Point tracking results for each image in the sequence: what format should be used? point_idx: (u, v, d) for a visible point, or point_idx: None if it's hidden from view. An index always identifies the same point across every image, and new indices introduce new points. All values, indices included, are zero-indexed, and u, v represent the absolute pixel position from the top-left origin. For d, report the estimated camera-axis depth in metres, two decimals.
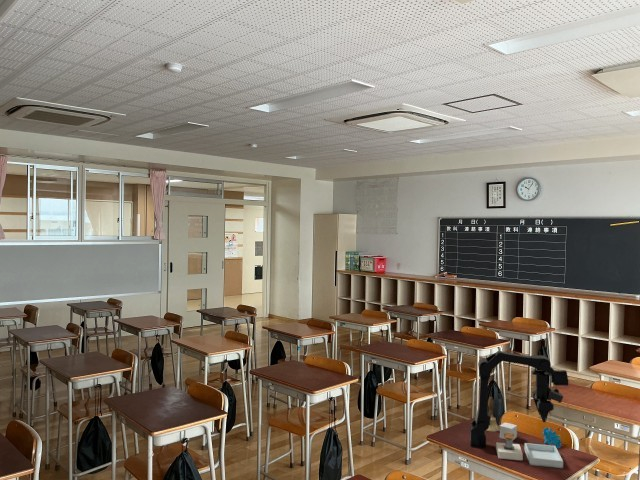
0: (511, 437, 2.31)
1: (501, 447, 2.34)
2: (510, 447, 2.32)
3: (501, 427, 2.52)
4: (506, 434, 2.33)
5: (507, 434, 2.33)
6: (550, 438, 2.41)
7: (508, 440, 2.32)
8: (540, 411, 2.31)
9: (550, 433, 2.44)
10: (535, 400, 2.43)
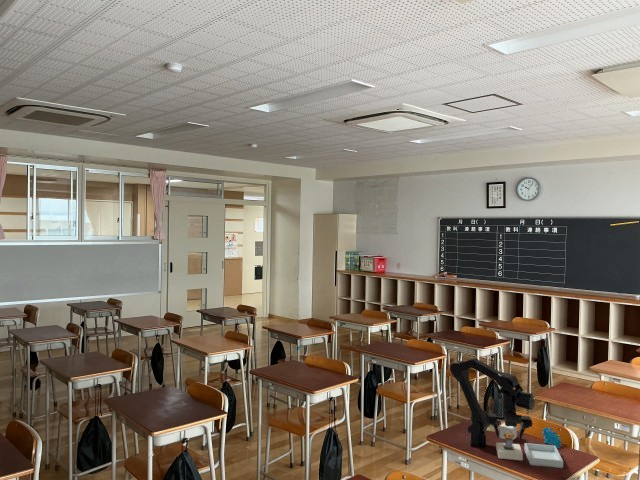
0: (511, 437, 2.31)
1: (501, 447, 2.34)
2: (510, 447, 2.32)
3: (501, 427, 2.52)
4: (506, 434, 2.33)
5: (507, 434, 2.33)
6: (550, 438, 2.41)
7: (508, 440, 2.32)
8: None
9: (550, 433, 2.44)
10: (520, 423, 2.34)
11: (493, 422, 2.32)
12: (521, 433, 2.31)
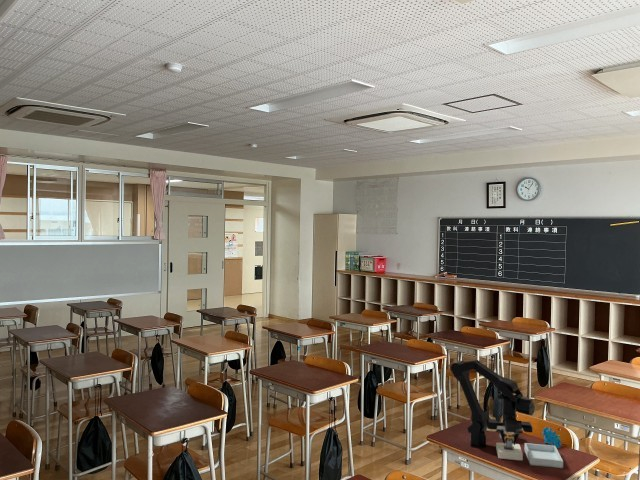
0: (511, 437, 2.31)
1: (501, 447, 2.34)
2: (510, 447, 2.32)
3: None
4: (506, 434, 2.33)
5: (507, 434, 2.33)
6: (550, 438, 2.41)
7: (508, 440, 2.32)
8: None
9: (550, 433, 2.44)
10: None
11: (493, 428, 2.32)
12: (515, 438, 2.32)
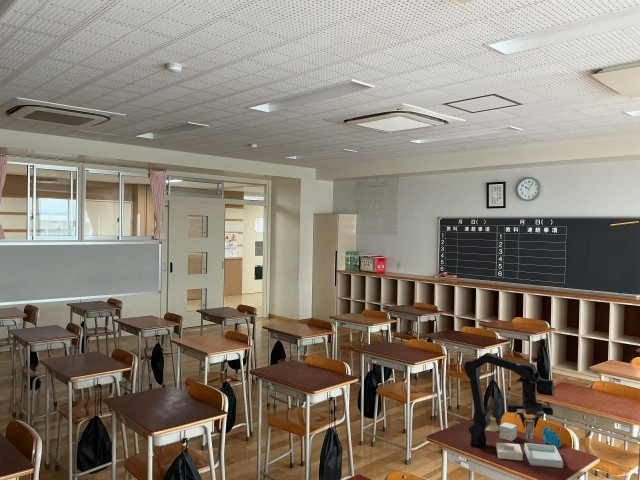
0: (531, 420, 2.28)
1: (501, 447, 2.34)
2: (530, 430, 2.29)
3: (501, 427, 2.52)
4: (526, 417, 2.31)
5: (527, 417, 2.30)
6: (549, 438, 2.42)
7: (528, 423, 2.29)
8: None
9: (550, 433, 2.44)
10: None
11: (513, 411, 2.29)
12: (536, 421, 2.29)
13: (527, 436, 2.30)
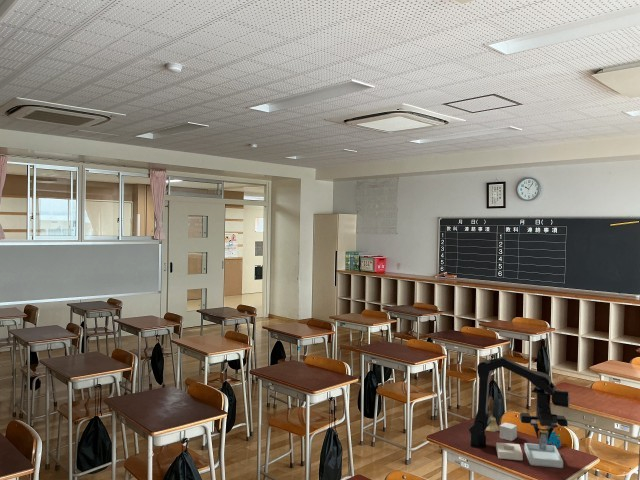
0: (545, 431, 2.27)
1: (501, 447, 2.34)
2: (544, 441, 2.28)
3: (501, 427, 2.52)
4: (540, 428, 2.29)
5: (541, 428, 2.29)
6: (549, 438, 2.42)
7: (542, 434, 2.28)
8: None
9: None
10: None
11: (527, 422, 2.27)
12: (549, 432, 2.27)
13: (541, 447, 2.28)
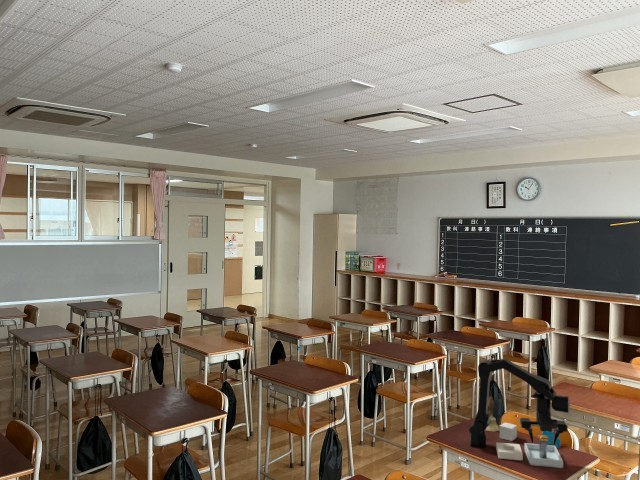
0: (545, 439, 2.27)
1: (501, 447, 2.34)
2: (544, 450, 2.28)
3: (501, 427, 2.52)
4: (540, 436, 2.29)
5: (541, 436, 2.29)
6: (549, 438, 2.42)
7: (542, 442, 2.28)
8: None
9: (549, 433, 2.44)
10: None
11: (527, 427, 2.27)
12: (555, 438, 2.27)
13: (541, 455, 2.28)
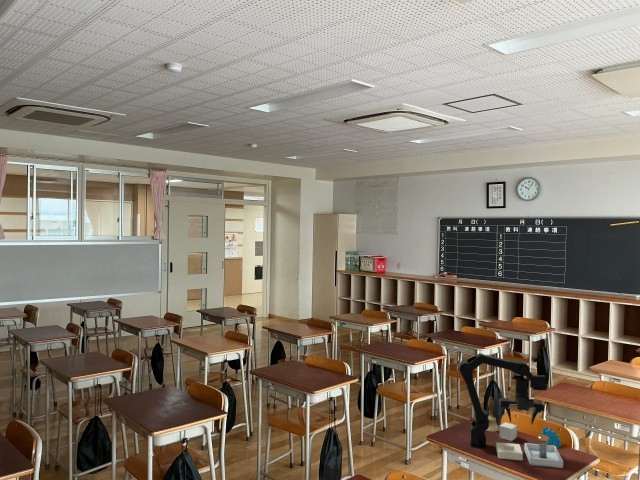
0: (545, 439, 2.27)
1: (501, 447, 2.34)
2: (544, 450, 2.28)
3: (501, 427, 2.52)
4: (540, 436, 2.29)
5: (541, 436, 2.29)
6: (549, 438, 2.42)
7: (542, 442, 2.28)
8: None
9: (549, 433, 2.44)
10: (532, 408, 2.40)
11: (506, 406, 2.38)
12: (533, 417, 2.37)
13: (541, 455, 2.28)
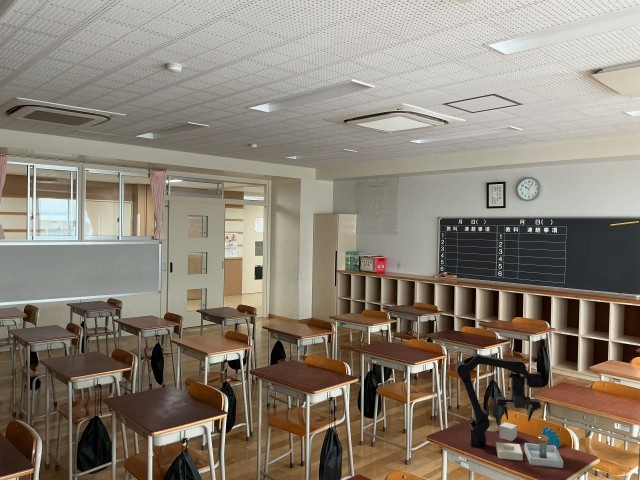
0: (545, 439, 2.27)
1: (501, 447, 2.34)
2: (544, 450, 2.28)
3: (501, 427, 2.52)
4: (540, 436, 2.29)
5: (541, 436, 2.29)
6: (549, 437, 2.42)
7: (542, 442, 2.28)
8: None
9: (549, 433, 2.44)
10: None
11: (503, 404, 2.40)
12: (530, 415, 2.39)
13: (541, 455, 2.28)
